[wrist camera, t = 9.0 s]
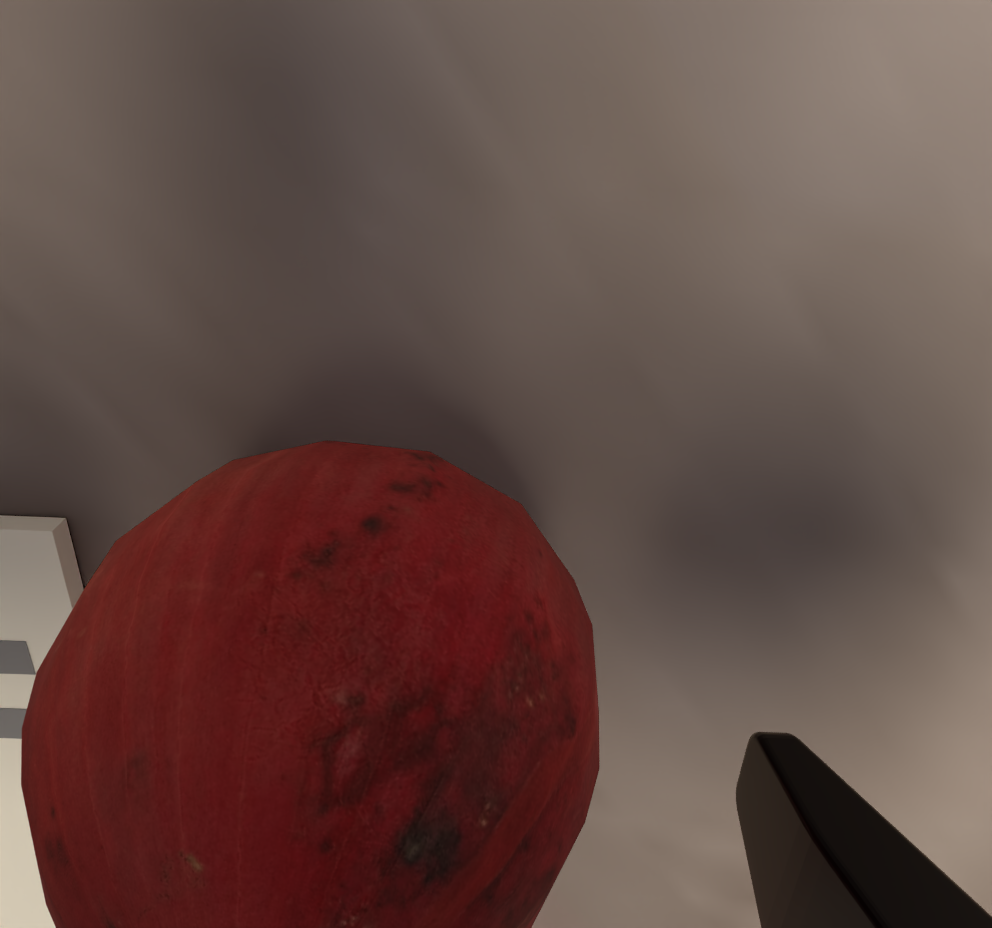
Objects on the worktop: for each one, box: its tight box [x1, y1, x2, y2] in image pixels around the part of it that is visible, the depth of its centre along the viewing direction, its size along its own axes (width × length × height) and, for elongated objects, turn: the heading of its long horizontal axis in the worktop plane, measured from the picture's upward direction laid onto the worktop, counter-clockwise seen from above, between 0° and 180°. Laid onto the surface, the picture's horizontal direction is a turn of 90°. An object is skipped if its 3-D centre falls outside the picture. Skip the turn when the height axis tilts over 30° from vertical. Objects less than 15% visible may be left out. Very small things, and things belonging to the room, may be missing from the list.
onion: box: [21, 440, 599, 928], centre depth 8 cm, size 6×6×8 cm
